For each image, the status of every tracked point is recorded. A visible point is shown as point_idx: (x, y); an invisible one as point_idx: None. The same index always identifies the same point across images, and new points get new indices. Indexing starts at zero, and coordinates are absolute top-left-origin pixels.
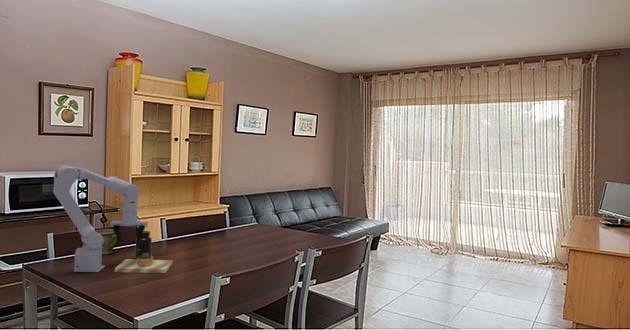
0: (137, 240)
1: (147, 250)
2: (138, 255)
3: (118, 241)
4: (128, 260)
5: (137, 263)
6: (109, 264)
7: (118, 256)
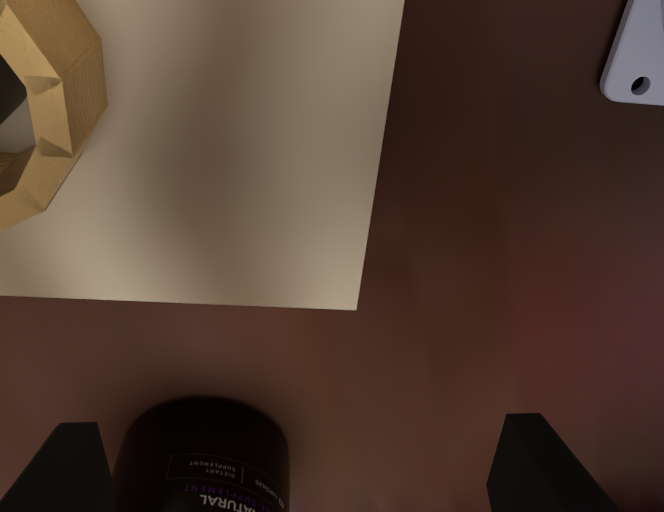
0: (52, 485)
1: (117, 502)
2: (233, 436)
3: (550, 445)
4: (306, 260)
5: (80, 24)
6: (538, 212)
7: (463, 473)
